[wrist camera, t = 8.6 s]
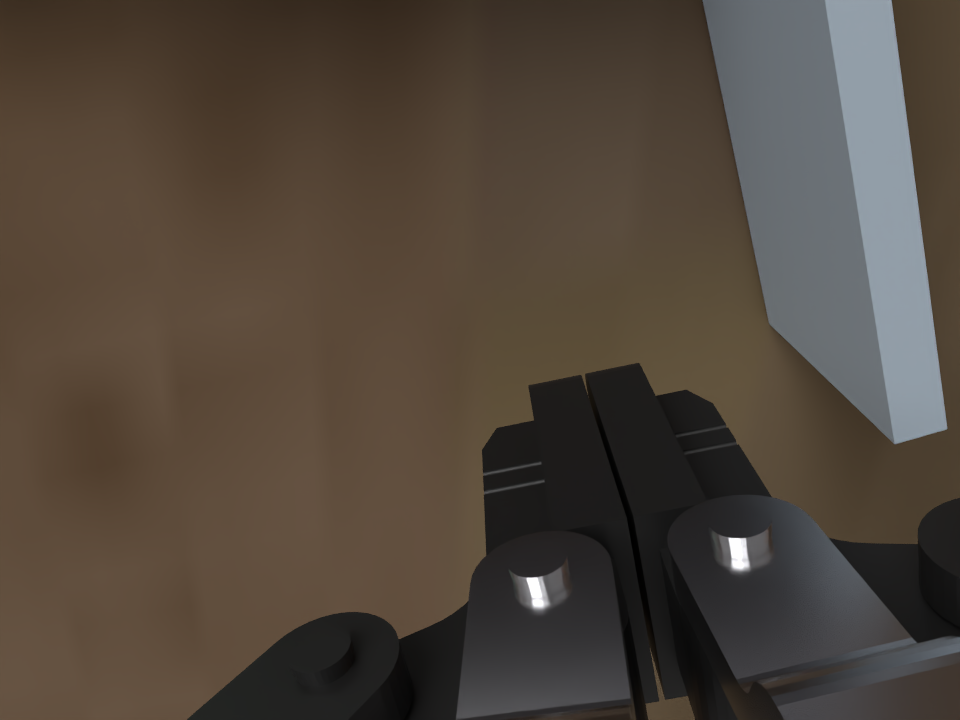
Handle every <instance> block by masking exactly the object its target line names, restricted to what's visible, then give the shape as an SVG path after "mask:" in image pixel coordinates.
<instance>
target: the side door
mask: <svg viewBox="0 0 960 720" xmlns="http://www.w3.org/2000/svg"><path fill="white" fill-rule="evenodd" d="M703 5H704V10H705V15H706V19H707V24H708V29H709V34H710V39H711V44H712V49H713V53H714V58H715V63H716V68H717V73H718V78H719V83H720V87H721V92H722V97H723V102H724V107H725V112H726V117H727V121H728V126H729V131H730V136H731V141H732V146H733V150H734V155H735V160H736V165H737V170H738V175H739V180H740V184H741V189H742V194H743V199H744V204H745V209H746V214H747V218H748V223H749V228H750V233H751V238H752V243H753V248H754V252H755V257H756V262H757V267H758V272H759V277H760V281H761V286H762V291H763V296H764V301H765V306H766V311H767V315H768V320H769V324H770V325H771V326H772V327H773V328H774V329H775V330H776V331H777V332H778V333H779V334H780V335H781V336H782V337H783V338H784V339H786V340H787V341H788V342H789V343H790V344H791V345H792V346H793V347H794V348H795V349H796V350H797V351H798V352H799V353H800V354H801V355H802V356H803V357H804V358H805V359H806V360H807V361H808V362H809V363H811V364H812V365H813V366H814V367H815V368H816V369H817V370H818V371H819V372H820V373H821V374H822V375H823V376H824V377H825V378H826V379H827V380H828V381H829V382H830V383H831V384H832V385H833V386H834V387H836V388H837V389H838V390H839V391H840V392H841V393H842V394H843V395H844V396H845V397H846V398H847V399H848V400H849V401H850V402H851V403H852V404H853V405H854V406H855V407H856V408H857V409H858V410H859V411H861V412H862V413H863V414H864V415H865V416H866V417H867V418H868V419H869V420H870V421H871V422H872V423H873V424H874V425H875V426H876V427H877V428H878V429H879V430H880V431H881V432H882V433H883V434H884V435H886V436H887V437H888V438H889V439H890V440H891V441H892V442H893V443H894V444H897V443H901V442H904V441H908V440H911V439H915V438H918V437H922V436H925V435H929V434H932V433H936V432H939V431H943V430H946V429H947V423H946V415H945V407H944V400H943V392H942V384H941V377H940V369H939V361H938V354H937V346H936V338H935V331H934V323H933V315H932V308H931V300H930V292H929V285H928V277H927V269H926V262H925V254H924V246H923V239H922V231H921V223H920V216H919V208H918V200H917V193H916V185H915V177H914V170H913V162H912V154H911V147H910V139H909V131H908V124H907V116H906V108H905V101H904V93H903V85H902V78H901V70H900V62H899V55H898V47H897V39H896V32H895V24H894V16H893V8H892V1H891V0H703Z"/></svg>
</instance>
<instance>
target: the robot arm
mask: <svg viewBox="0 0 960 720" xmlns="http://www.w3.org/2000/svg"><path fill="white" fill-rule="evenodd" d="M585 378H586V385H587V391H588V395H587V392H586V389H585V385H584V382H583V379H582V376H581V375H577V376H573V377H568V378H563V379H558V380H553V381H548V382H543V383H538V384H533V385H528V386H529V392H530V398H531V404H532V410H533V416H534V421H529V422H524V423H520V424H515V425H510V426H505V427H500V428H497V429H496V430H495V432H494V433H493V434H492V436H491V437H490V439H489V440H488V442H487V443H486V445H485V446H484V448H483V449H482V458H483V474H484V476H483V483H484V493H485V495H484V508H485V532H486V557H484V558H483V559H482V560H481V562H480V563H479V564H478V566H477V567H476V569H475V571H474V573H473V575H472V579H471V583H470V592H469V601H468V602H467V603H466V604H465V605H464V606H463V607H461V608H460V609H459V610H457V611H456V612H455V613H453V614H452V615H450V616H448V617H447V618H445V619H444V620H442V621H440V622H438V623H436V624H433V625H431V626H429V627H427V628H425V629H422V630H420V631H418V632H415V633H413V634H411V635H408V636H406V637H404V638H401V639H398V636H397V633H396V631H395V630H394V628H393V627H392V626H391V625H390V624H389V623H388V622H387V621H385V620H384V619H382V618H380V617H378V616H375V615H372V614H368V613H360V612H345V613H338V614H332V615H329V616H325V617H321V618H318V619H316V620H313V621H311V622H308V623H306V624H304V625H302V626H300V627H298V628H296V629H295V630H293V631H291V632H290V633H288V634H287V635H285V636H284V637H283V638H281V639H280V640H279V641H277V642H276V643H275V644H274V645H273V646H272V647H270V648H269V649H268V650H267V651H266V652H265V653H263V654H262V655H261V656H260V657H259V658H258V659H256V660H255V661H254V662H253V663H252V664H251V665H250V666H248V667H247V668H246V669H245V670H244V671H243V672H241V673H240V674H239V675H238V676H237V677H236V678H234V679H233V680H232V681H231V682H230V683H229V684H228V685H226V686H225V687H224V688H223V689H222V690H221V691H219V692H218V693H217V694H216V695H215V696H214V697H212V698H211V699H210V700H209V701H208V702H207V703H206V704H204V705H203V706H202V707H201V708H200V709H199V710H197V711H196V712H195V713H194V714H193V715H192V716H190V717H189V718H188V719H187V720H648V716H647V710H646V705H645V704H646V703H651V702H657V701H659V697H658V692H657V686H656V680H655V675H654V669H653V663H652V658H651V652H652V656H653V659H654V662H655V666H656V669H657V673H658V676H659V680H660V683H661V686H662V690H663V693H664V697H665V700H666V699H672V698H677V697H683V696H688V698H689V701H690V704H691V707H692V710H693V713H694V716H695V720H960V498H958V499H954V500H951V501H948V502H946V503H943V504H941V505H939V506H937V507H935V508H934V509H932V510H931V511H930V512H929V513H927V514H926V515H925V517H924V518H923V519H922V521H921V523H920V525H919V528H918V544H871V543H854V542H847V541H840V540H835V539H831V538H828V537H827V536H826V534H825V533H824V532H823V531H822V530H821V529H820V527H819V526H818V525H817V524H816V523H815V521H814V520H813V519H812V518H811V517H810V516H809V515H808V514H807V513H806V512H805V511H803V510H802V509H800V508H799V507H797V506H795V505H793V504H791V503H789V502H786V501H783V500H780V499H777V498H772V497H771V495H770V494H769V492H768V490H767V489H766V487H765V486H764V484H763V482H762V481H761V479H760V478H759V476H758V474H757V473H756V471H755V470H754V468H753V467H752V465H751V463H750V462H749V460H748V459H747V457H746V455H745V454H744V452H743V451H742V449H741V447H740V446H739V444H738V445H737V443H736V439H735V438H734V436H733V435H732V433H731V432H730V430H729V428H726V424H725V422H724V420H723V419H722V417H721V416H720V414H719V412H718V411H717V409H716V408H715V406H714V404H713V403H711V402H709V401H707V400H705V399H703V398H701V397H699V396H697V395H695V394H693V393H692V392H690V391H688V390H683V391H678V392H673V393H668V394H663V395H658V396H655V394H654V392H653V390H652V388H651V386H650V384H649V382H648V380H647V378H646V376H645V374H644V372H643V369H642V367H641V366H640V364H639V363H636V364H631V365H626V366H621V367H616V368H611V369H606V370H601V371H596V372H591V373H587V374H585ZM588 397H589V398H588ZM649 645H650V646H649ZM650 649H651V652H650Z"/></svg>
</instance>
